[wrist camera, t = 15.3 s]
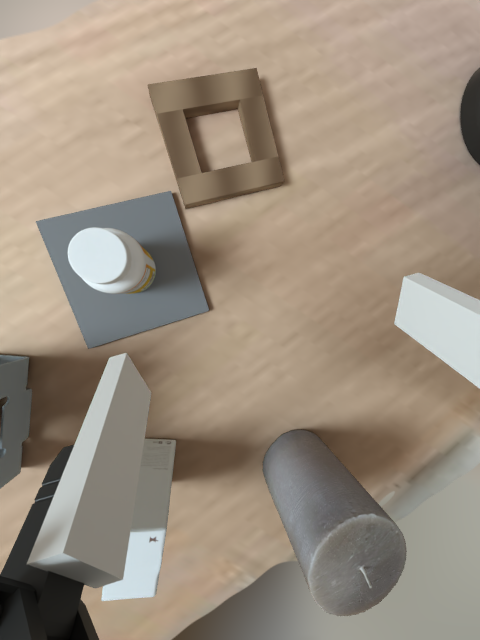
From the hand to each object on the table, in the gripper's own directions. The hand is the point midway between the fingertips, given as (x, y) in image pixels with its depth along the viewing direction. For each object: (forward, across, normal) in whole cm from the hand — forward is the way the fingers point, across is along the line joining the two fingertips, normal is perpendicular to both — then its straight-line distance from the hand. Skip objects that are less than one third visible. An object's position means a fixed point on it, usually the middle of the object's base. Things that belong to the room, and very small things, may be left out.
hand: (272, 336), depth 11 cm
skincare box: (+9, -15, -22) cm, 28 cm away
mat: (+19, -11, -1) cm, 22 cm away
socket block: (+26, +3, +9) cm, 27 cm away
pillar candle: (+8, +2, -29) cm, 30 cm away
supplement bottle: (+19, -11, -1) cm, 22 cm away
